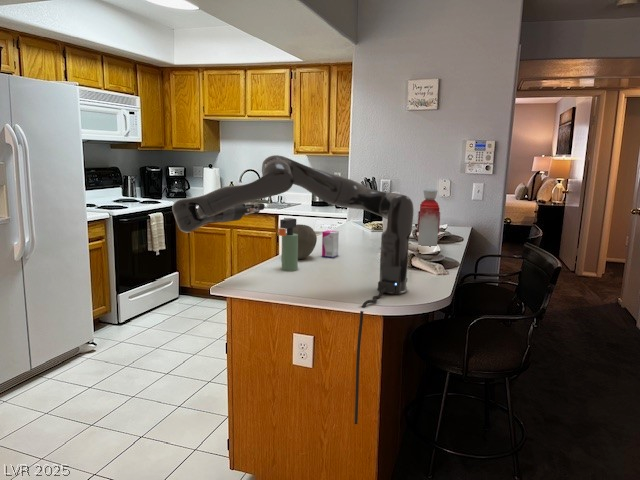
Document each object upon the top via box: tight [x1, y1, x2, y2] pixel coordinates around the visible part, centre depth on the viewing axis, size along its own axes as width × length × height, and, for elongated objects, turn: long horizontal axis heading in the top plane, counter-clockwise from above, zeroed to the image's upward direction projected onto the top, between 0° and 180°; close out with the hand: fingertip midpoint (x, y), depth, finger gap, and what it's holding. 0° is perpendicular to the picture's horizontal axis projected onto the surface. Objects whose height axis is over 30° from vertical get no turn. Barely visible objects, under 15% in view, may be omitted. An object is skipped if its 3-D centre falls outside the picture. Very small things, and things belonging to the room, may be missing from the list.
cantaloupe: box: [293, 223, 318, 260], centre depth 213 cm, size 14×14×15 cm
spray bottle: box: [279, 217, 299, 272], centre depth 192 cm, size 8×6×20 cm
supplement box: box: [321, 230, 340, 259], centre depth 218 cm, size 6×6×12 cm
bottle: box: [416, 188, 441, 247], centre depth 230 cm, size 14×10×30 cm
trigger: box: [278, 228, 287, 237], centre depth 188 cm, size 1×3×3 cm, turn 53°
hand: (262, 206), depth 178 cm, fingers closed
